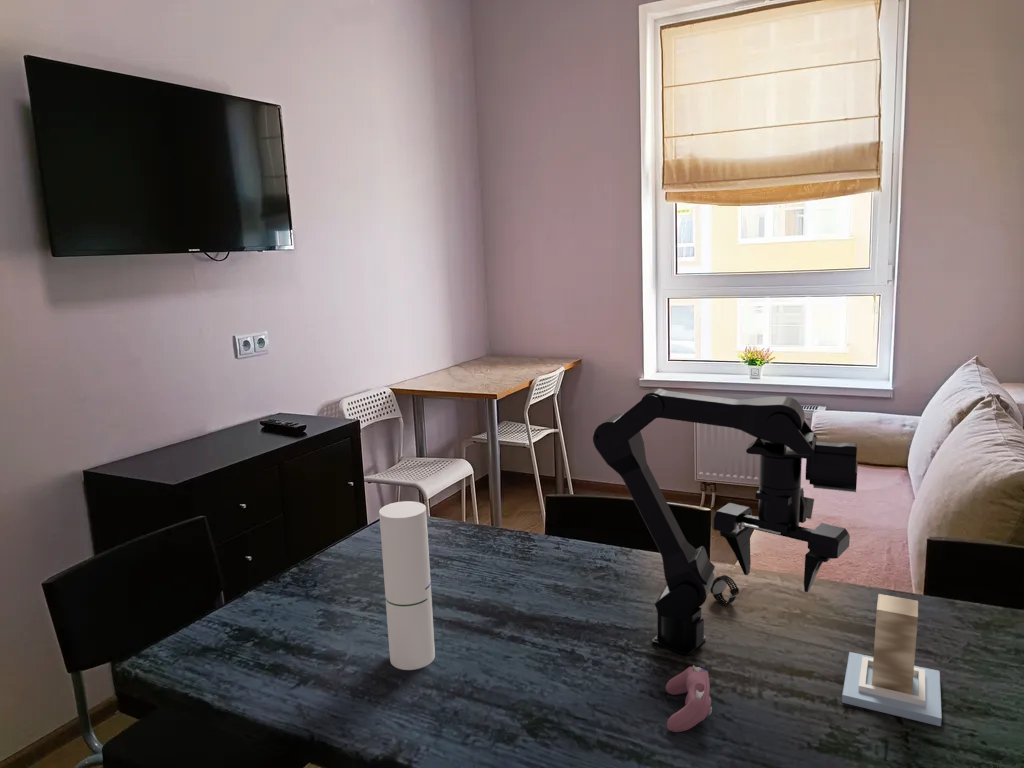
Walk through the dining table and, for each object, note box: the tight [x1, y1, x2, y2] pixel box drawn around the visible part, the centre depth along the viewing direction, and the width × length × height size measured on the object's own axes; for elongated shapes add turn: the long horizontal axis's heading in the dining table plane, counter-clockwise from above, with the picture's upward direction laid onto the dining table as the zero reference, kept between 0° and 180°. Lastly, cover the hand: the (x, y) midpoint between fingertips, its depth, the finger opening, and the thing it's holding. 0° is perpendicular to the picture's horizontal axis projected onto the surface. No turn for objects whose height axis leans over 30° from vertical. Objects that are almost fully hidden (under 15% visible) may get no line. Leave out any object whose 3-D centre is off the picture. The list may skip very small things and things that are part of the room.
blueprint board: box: [841, 651, 942, 727], centre depth 106 cm, size 12×12×2 cm
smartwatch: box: [709, 574, 740, 606], centre depth 131 cm, size 4×5×5 cm
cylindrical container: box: [379, 500, 436, 671], centre depth 116 cm, size 7×7×25 cm
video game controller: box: [665, 664, 713, 733], centre depth 102 cm, size 10×5×7 cm, turn 169°
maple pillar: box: [872, 593, 919, 695], centre depth 104 cm, size 5×5×12 cm
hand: (776, 582), depth 111 cm, fingers open, 9 cm apart
